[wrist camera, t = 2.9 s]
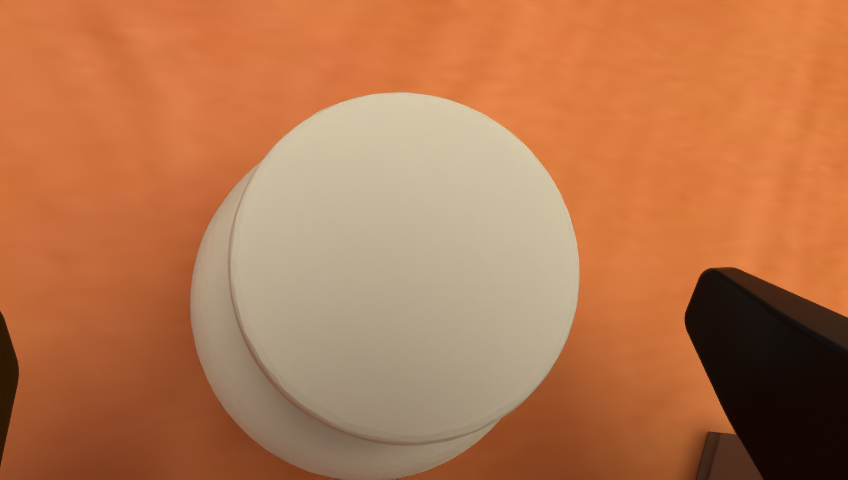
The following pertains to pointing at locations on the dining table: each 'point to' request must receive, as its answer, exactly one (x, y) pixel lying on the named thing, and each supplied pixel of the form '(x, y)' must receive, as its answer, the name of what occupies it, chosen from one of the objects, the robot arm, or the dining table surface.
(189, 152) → the dining table surface
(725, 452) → the charcoal tray
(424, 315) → the supplement bottle
